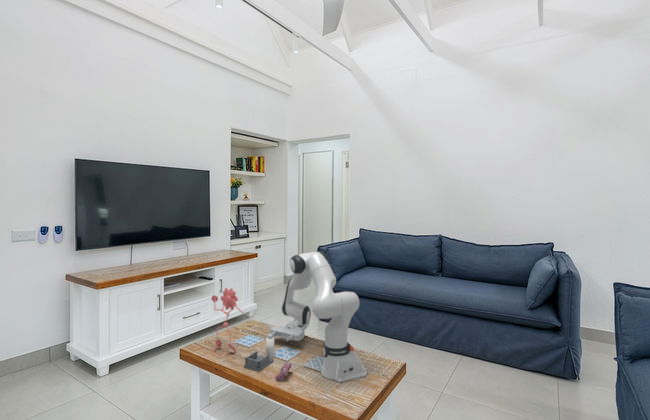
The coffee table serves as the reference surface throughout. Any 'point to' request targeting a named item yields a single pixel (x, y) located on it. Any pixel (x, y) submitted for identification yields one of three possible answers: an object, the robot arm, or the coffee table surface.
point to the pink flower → (228, 302)
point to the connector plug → (270, 345)
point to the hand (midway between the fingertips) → (279, 338)
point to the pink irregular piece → (283, 371)
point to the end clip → (257, 362)
